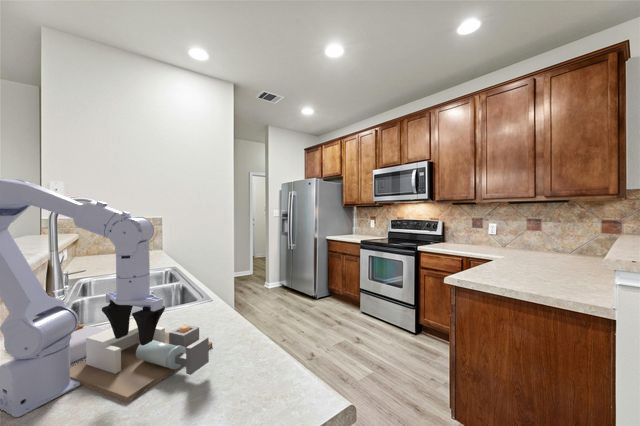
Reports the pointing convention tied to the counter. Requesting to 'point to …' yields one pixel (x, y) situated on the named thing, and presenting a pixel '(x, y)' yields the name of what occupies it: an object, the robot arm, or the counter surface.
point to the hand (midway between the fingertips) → (133, 339)
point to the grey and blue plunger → (176, 354)
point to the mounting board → (122, 375)
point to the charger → (82, 341)
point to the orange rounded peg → (184, 329)
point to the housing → (129, 344)
